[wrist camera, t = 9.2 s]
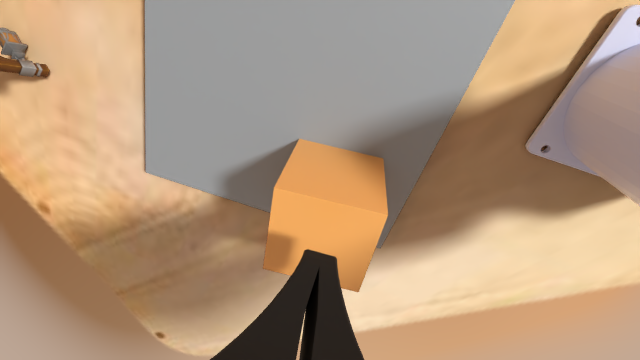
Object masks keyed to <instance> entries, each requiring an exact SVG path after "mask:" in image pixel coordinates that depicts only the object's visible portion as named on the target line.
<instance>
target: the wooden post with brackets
mask: <svg viewBox="0 0 640 360" xmlns="http://www.w3.org/2000/svg"><path fill="white" fill-rule="evenodd" d="M0 45H1V47H2V48H3V49H2V51H1V54H3V55H11V56H12V58H11V59H17V60H11V59H7V58H4V57H2V56H0V71H3V72H12V73H18V74H19V75H22V76H30V77H33V76H34V75H36V76H38V77H39V76H42V77H47V75H48V73H49V69H48V67H47V66H46V65H45V64H39V63H33V62H32V61H28V60H25V58H24V56H25V50H26V48H27V44H22V43H21V41H20V39H19V37H18V35H17V34H16V33H15V32H12V31H9V30H8V29H6V28H0Z"/></svg>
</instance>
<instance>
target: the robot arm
mask: <svg viewBox="0 0 640 360" xmlns="http://www.w3.org/2000/svg"><path fill="white" fill-rule="evenodd" d="M639 17H640V5H629V6H626V7H625V8H623V9H622V10H621V11H620V12H619V13H618V14H617V16H616V17H615V18H614V20H613V21H612V23H611V24H610V26H609V27H608V28H607V30H606V31H605V33H604V34H603V35H602V37H601V38H600V40H599V41H598V42H597V44H596V45H595V47H594V48H593V49H592V51H591V52H590V54H589V55H588V57H587V58H586V59H585V61H584V62H583V64H582V65H581V66H580V68H579V69H578V71H577V72H576V73H575V75H574V76H573V78H572V79H571V81H570V82H569V83H568V85H567V86H566V88H565V89H564V90H563V92H562V93H561V95H560V96H559V97H558V99H557V100H556V102H555V103H554V104H553V106H552V107H551V109H550V110H549V112H548V113H547V114H546V116H545V117H544V119H543V120H542V121H541V123H540V124H539V126H538V127H537V128H536V130H535V131H534V133H533V134H532V135H531V137H530V138H529V140H528V141H527V143H526V149H527V150H528V151H529V152H530V153H532V154H534V155H537V156H540V157H543V158H546V159H549V160H552V161H555V162H558V163H561V164H564V165H567V166H570V167H573V168H576V169H579V170H582V171H585V172H588V173H590V174H593V175H596V176H599V177H602V178H603V179H605V180H606V181H607V182H608V183H610V184H611V185H612V186H614V187H615V188H616V189H618V190H619V191H620V192H622V193H623V194H624V195H626V196H627V197H628V198H630V199H631V200H632V201H634V202H635V203H636V204H638V205H639V206H640V24H639V25H636V21H637V19H638V18H639ZM545 145H547V148H546V149H545V150H543V151H541V148H542V147H543V146H545ZM305 310H306V312H305ZM304 314H305V320H304V327H303V335H302V344H301V351H300V359H299V360H364V358H363V355H362V353H361V351H360V348H359V346H358V343H357V341H356V338H355V335H354V332H353V330H352V327H351V324H350V320H349V317H348V314H347V310H346V307H345V303H344V299H343V295H342V290H341V286H340V280H339V274H338V266H337V258H336V257H335V256H331V255H327V254H324V253H320V252H317V251H313V250H309V249H306V250H304V253H303V256H302V258H301V260H300V262H299V264H298V266H297V267H296V269H295V271H294V272H293V274H292V275H291V277H290V278H289V280H288V281H287V282H286V284H285V285H284V287H283V288H282V289H281V291H280V292H279V293H278V294H277V296H276V297H275V298H274V299H273V301H272V302H271V303H270V304H269V305H268V306H267V308H266V309H265V310H264V311H263V312H262V313H261V314H260V315H259V316H258V317H257V318H256V319H255V320H254V321H253V322H252V323H251V324H250V325H249V326H248V327H247V328H246V329H245V330H244V331H243V332H242V333H241V334H240V335H239V336H238V337H237V338H235V339H234V340H233V341H232V342H231V343H230V344H228V345H227V346H226V347H225V348H224V349H223V350H222V351H220V352H219V353H218V354H217V355H215V356H214V357H213V358H211V359H210V360H296V356H297V350H298V345H299V340H300V335H301V329H302V324H303V319H304Z"/></svg>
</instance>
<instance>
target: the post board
mask: <svg viewBox="0 0 640 360" xmlns="http://www.w3.org/2000/svg"><path fill="white" fill-rule="evenodd" d="M514 1H515V0H145V142H146V173H149V174H152V175H155V176H159V177H162V178H165V179H168V180H171V181H174V182H177V183H180V184H183V185H186V186H189V187H192V188H195V189H199V190H202V191H205V192H208V193H211V194H214V195H217V196H220V197H223V198H226V199H229V200H232V201H235V202H239V203H242V204H245V205H248V206H251V207H254V208H257V209H260V210H263V211H266V212H269V213H271V206H272V198H273V191H274V187H275V185H276V183H277V181H278V179H279V177H280V175H281V173H282V171H283V169H284V167H285V165H286V163H287V162H288V160H289V158H290V156H291V154H292V152H293V150H294V148H295V146H296V144H297V142H298V140H299V139H303V140H307V141H311V142H316V143H320V144H324V145H328V146H333V147H337V148H341V149H345V150H350V151H354V152H358V153H362V154H366V155H371V156H375V157H379V158H383V160H384V172H385V184H386V196H387V208H388V217H387V219H386V222H385V224H384V227H383V230H382V232H381V235H380V238H379V240H378V243H377V245H376V247H377V248H381V246H382V245H383V243H384V241H385V239H386V237H387V235H388V233H389V232H390V230H391V228H392V226H393V224H394V222H395V221H396V219H397V217H398V215H399V213H400V211H401V210H402V208H403V206H404V204H405V202H406V200H407V198H408V197H409V195H410V193H411V191H412V189H413V187H414V186H415V184H416V182H417V180H418V178H419V176H420V175H421V173H422V171H423V169H424V167H425V165H426V163H427V162H428V160H429V158H430V156H431V154H432V152H433V151H434V149H435V147H436V145H437V143H438V141H439V140H440V138H441V136H442V134H443V132H444V130H445V128H446V127H447V125H448V123H449V121H450V119H451V117H452V116H453V114H454V112H455V110H456V108H457V106H458V105H459V103H460V101H461V99H462V97H463V95H464V94H465V92H466V90H467V88H468V86H469V84H470V82H471V81H472V79H473V77H474V75H475V73H476V71H477V70H478V68H479V66H480V64H481V62H482V60H483V59H484V57H485V55H486V53H487V51H488V49H489V47H490V46H491V44H492V42H493V40H494V38H495V36H496V35H497V33H498V31H499V29H500V27H501V25H502V24H503V22H504V20H505V18H506V16H507V14H508V12H509V11H510V9H511V7H512V5H513V3H514Z"/></svg>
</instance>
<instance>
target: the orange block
mask: <svg viewBox="0 0 640 360" xmlns="http://www.w3.org/2000/svg"><path fill="white" fill-rule="evenodd" d="M387 217H388V208H387V196H386V184H385V172H384V160H383V158H379V157H375V156H371V155H366V154H362V153H358V152H354V151H350V150H345V149H341V148H337V147H333V146H328V145H324V144H320V143H316V142H311V141H307V140H303V139H299V140H298V142H297V144H296V146H295V148H294V150H293V152H292V154H291V156H290V158H289V160H288V162H287V163H286V165H285V167H284V169H283V171H282V173H281V175H280V177H279V179H278V181H277V183H276V185H275V187H274V191H273V198H272V206H271V213H270V220H269V228H268V235H267V242H266V250H265V257H264V264H263V269H267V270H271V271H275V272H279V273H283V274H287V275H292V274H293V272H294V271H295V269H296V267H297V266H298V264H299V262H300V260H301V258H302V256H303V253H304V250H306V249H309V250H313V251H317V252H320V253H324V254H327V255H331V256H335V257H336V258H337V266H338V274H339V280H340V286H341V288H343V289H347V290H352V291H356V292H359V290H360V287H361V284H362V282H363V279H364V277H365V274H366V271H367V269H368V266H369V264H370V261H371V258H372V256H373V253H374V251H375V248H376V245H377V243H378V240H379V238H380V235H381V232H382V230H383V227H384V224H385V222H386V219H387Z"/></svg>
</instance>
